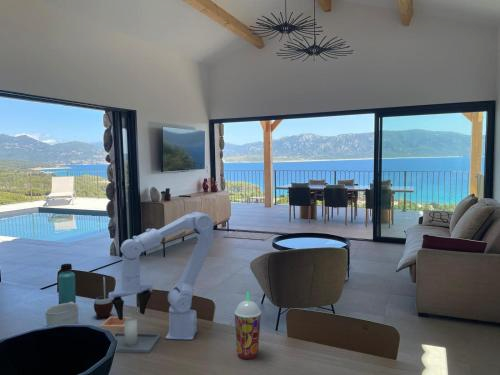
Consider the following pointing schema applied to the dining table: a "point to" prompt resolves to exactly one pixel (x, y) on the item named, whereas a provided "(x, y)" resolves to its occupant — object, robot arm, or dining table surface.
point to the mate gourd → (103, 305)
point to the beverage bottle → (66, 285)
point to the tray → (143, 345)
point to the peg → (131, 331)
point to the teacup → (62, 314)
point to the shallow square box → (114, 325)
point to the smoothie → (247, 328)
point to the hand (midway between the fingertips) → (131, 316)
